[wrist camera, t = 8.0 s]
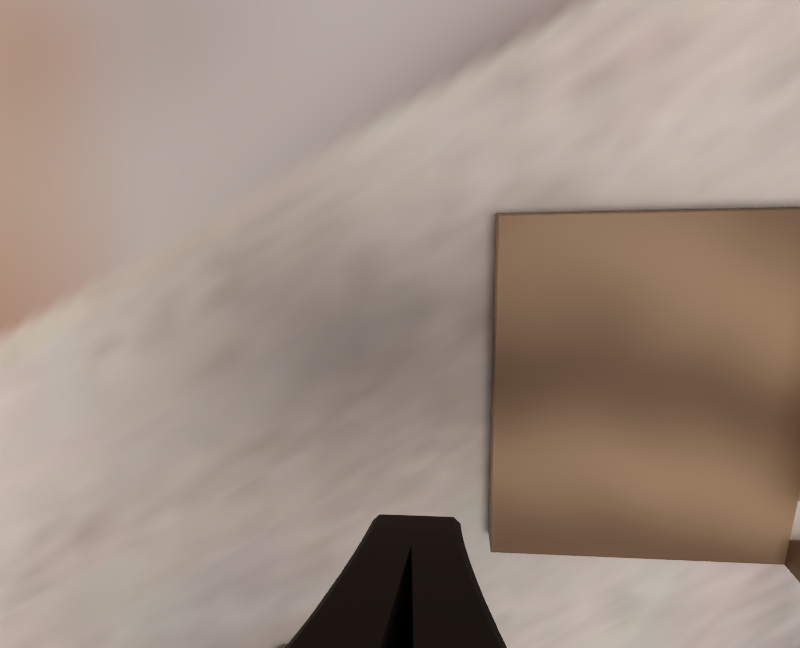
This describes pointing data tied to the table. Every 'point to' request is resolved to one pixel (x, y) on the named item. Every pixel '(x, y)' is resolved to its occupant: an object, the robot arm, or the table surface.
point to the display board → (647, 385)
